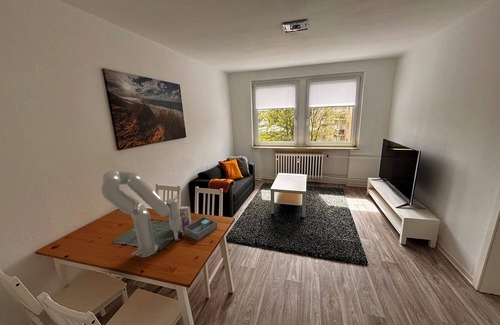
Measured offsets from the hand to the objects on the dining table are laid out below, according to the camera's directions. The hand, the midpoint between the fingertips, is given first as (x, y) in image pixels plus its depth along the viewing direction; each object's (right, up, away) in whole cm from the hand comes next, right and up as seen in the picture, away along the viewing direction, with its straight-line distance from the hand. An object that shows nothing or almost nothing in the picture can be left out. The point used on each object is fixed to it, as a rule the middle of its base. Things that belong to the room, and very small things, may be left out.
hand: (178, 237), depth 147 cm
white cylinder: (0, -1, 0) cm, 1 cm away
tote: (+15, +2, +8) cm, 17 cm away
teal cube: (+18, +4, +11) cm, 22 cm away
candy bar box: (-1, +3, +17) cm, 17 cm away
